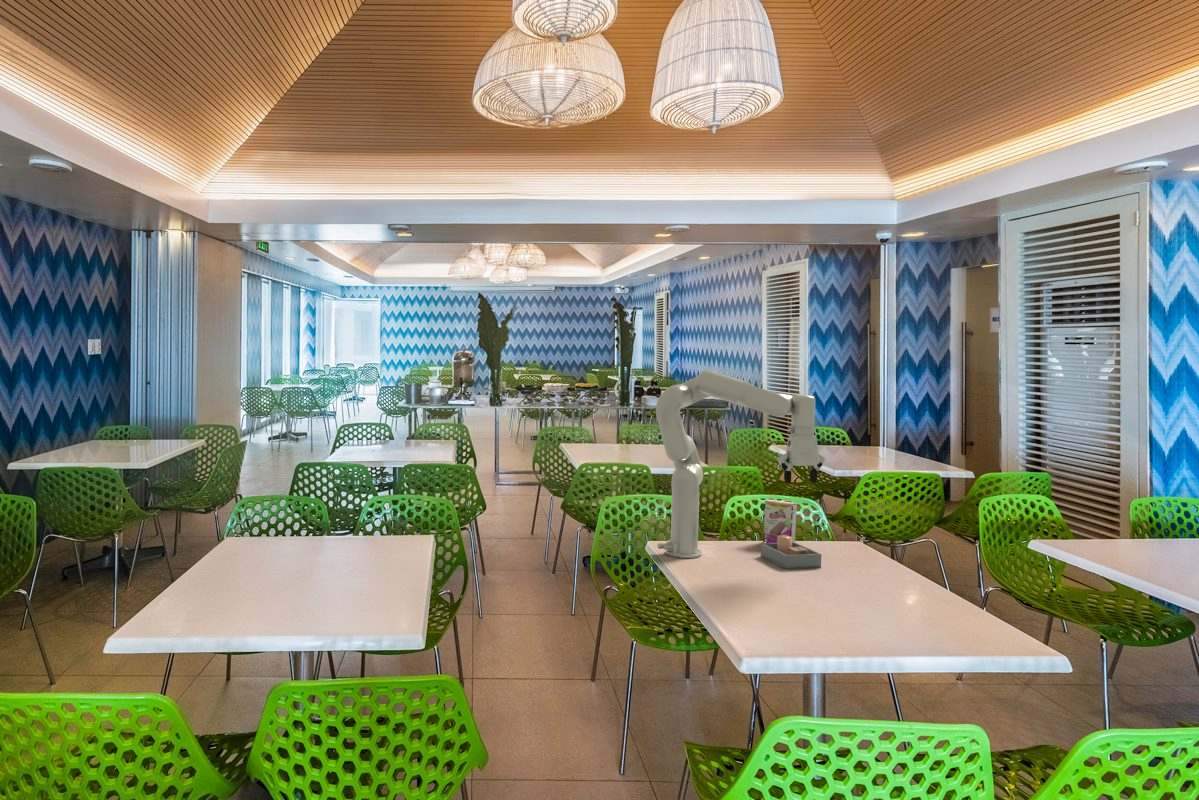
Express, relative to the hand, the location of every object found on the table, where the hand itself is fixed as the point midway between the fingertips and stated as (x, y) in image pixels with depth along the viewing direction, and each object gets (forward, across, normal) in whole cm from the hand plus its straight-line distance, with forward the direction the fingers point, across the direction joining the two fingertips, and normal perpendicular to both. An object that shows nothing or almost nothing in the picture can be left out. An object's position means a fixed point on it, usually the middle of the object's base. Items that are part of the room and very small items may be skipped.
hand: (800, 482), depth 255 cm
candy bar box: (+28, +9, +28) cm, 41 cm away
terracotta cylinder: (+28, 0, +9) cm, 29 cm away
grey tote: (+28, 0, +4) cm, 29 cm away
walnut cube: (+28, 0, 0) cm, 28 cm away
